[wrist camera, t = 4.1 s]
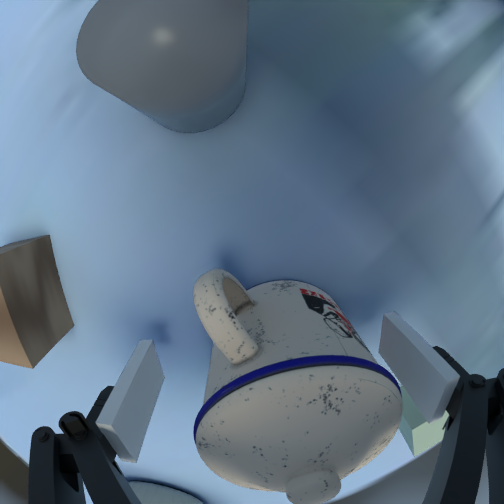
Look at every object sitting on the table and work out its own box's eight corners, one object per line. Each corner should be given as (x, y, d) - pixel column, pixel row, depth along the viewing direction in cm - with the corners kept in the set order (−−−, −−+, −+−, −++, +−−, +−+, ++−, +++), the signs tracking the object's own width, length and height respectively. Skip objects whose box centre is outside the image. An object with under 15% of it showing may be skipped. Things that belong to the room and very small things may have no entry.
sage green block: (389, 392, 20) (411, 430, 15) (442, 358, 20) (471, 389, 15) (396, 423, 21) (414, 456, 17) (443, 394, 21) (465, 422, 16)
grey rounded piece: (144, 54, 13) (87, -11, 5) (240, 38, 13) (240, -48, 5) (147, 141, 14) (71, 115, 7) (250, 125, 14) (258, 74, 7)
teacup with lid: (363, 348, 18) (439, 470, 7) (258, 404, 19) (268, 538, 8) (282, 203, 16) (375, 264, 4) (155, 285, 17) (59, 423, 5)
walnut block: (10, 243, 16) (-41, 264, 10) (50, 234, 16) (-8, 257, 10) (33, 323, 17) (-7, 359, 12) (74, 325, 17) (33, 368, 12)
